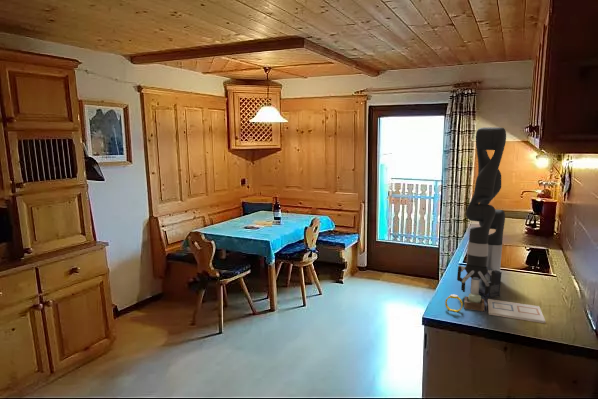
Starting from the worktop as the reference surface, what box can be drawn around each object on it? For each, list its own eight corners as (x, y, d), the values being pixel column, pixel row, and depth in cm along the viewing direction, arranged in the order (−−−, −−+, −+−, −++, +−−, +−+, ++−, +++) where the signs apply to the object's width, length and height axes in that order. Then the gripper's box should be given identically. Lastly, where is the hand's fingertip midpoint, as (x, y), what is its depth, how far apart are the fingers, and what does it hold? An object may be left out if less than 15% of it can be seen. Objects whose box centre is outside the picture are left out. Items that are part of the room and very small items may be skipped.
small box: (469, 290, 181) (471, 266, 180) (481, 288, 183) (482, 265, 182) (488, 298, 171) (490, 273, 170) (500, 296, 173) (502, 271, 172)
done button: (468, 300, 163) (468, 292, 163) (480, 302, 161) (481, 294, 161) (467, 303, 159) (468, 296, 159) (480, 305, 157) (481, 298, 157)
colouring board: (487, 300, 168) (487, 298, 168) (539, 308, 161) (539, 306, 161) (488, 314, 153) (488, 312, 153) (545, 323, 146) (545, 320, 146)
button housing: (464, 302, 165) (464, 296, 165) (483, 305, 162) (484, 299, 162) (463, 308, 159) (464, 301, 158) (484, 311, 156) (484, 304, 156)
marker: (470, 296, 173) (471, 275, 172) (478, 297, 171) (479, 276, 170) (470, 298, 170) (471, 277, 169) (478, 299, 168) (480, 278, 168)
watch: (444, 311, 156) (444, 295, 156) (446, 308, 158) (446, 293, 158) (461, 313, 153) (461, 297, 153) (463, 311, 155) (462, 295, 155)
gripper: (496, 253, 169) (493, 293, 171) (458, 249, 175) (456, 287, 176) (497, 257, 162) (494, 298, 164) (458, 253, 168) (455, 293, 169)
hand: (474, 293), depth 170 cm, fingers open, 7 cm apart
